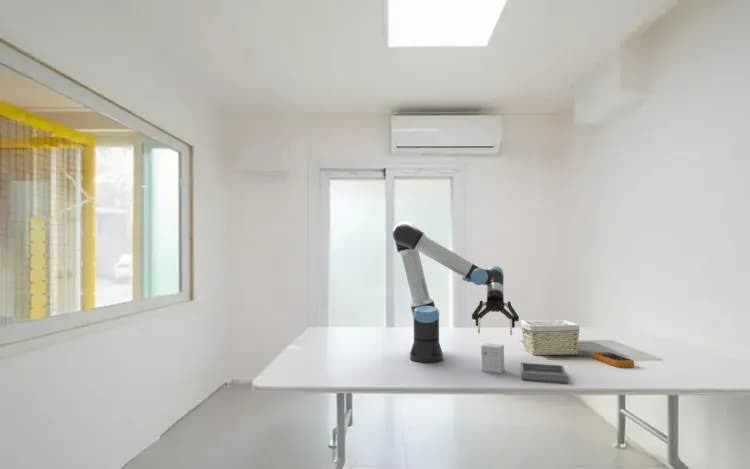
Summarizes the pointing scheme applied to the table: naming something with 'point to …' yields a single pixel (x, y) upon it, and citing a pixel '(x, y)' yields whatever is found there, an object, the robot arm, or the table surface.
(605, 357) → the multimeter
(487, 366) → the small box
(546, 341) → the storage basket
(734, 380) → the table surface
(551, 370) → the tray
